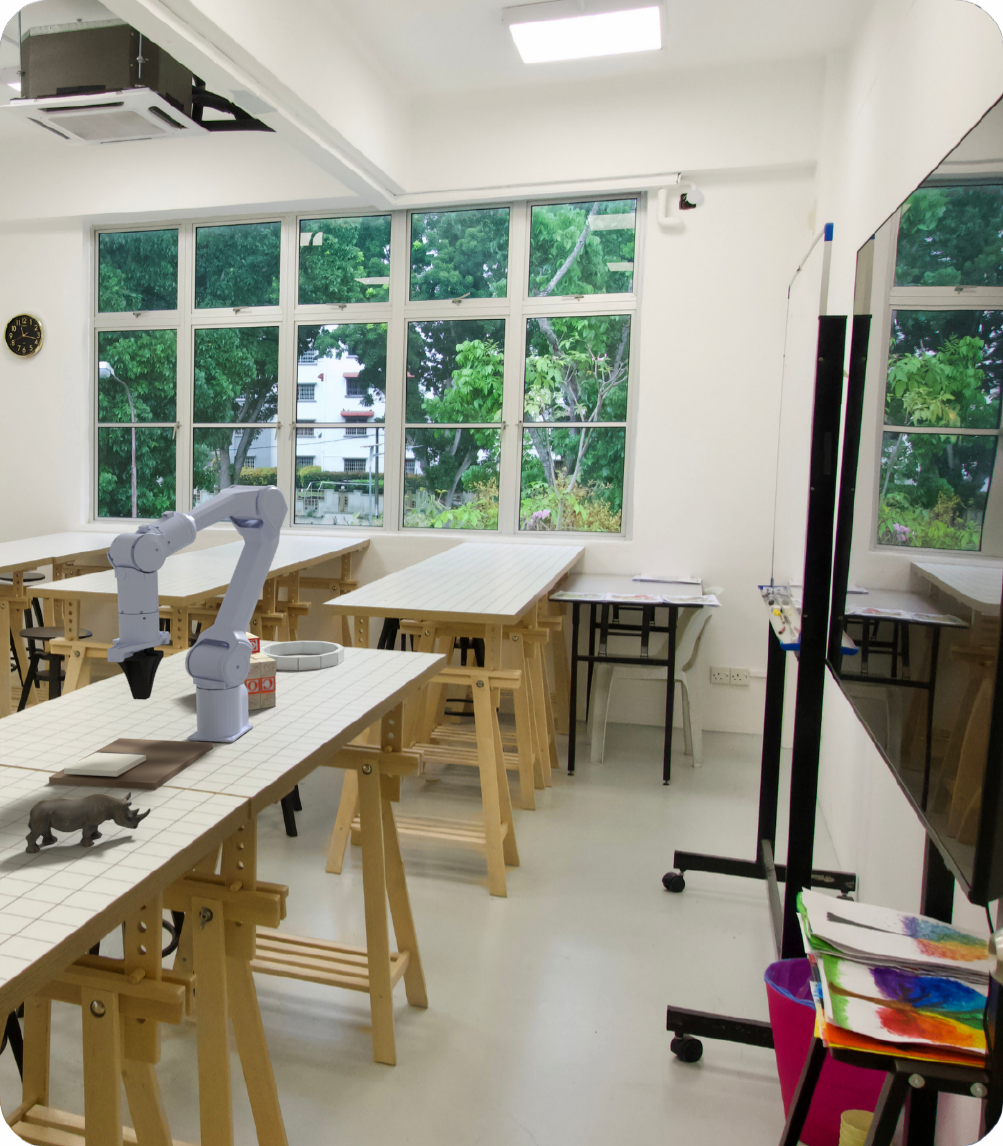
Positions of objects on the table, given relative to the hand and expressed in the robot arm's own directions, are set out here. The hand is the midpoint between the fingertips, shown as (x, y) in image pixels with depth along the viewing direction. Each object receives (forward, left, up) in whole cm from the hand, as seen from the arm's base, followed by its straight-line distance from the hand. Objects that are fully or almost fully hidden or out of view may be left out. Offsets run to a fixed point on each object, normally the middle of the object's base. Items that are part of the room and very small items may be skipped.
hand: (141, 698), depth 131 cm
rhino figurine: (+29, +9, -10) cm, 31 cm away
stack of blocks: (-39, 0, -10) cm, 41 cm away
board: (+2, 0, -10) cm, 10 cm away
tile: (+7, -2, -8) cm, 11 cm away
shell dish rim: (-73, 0, -10) cm, 74 cm away
